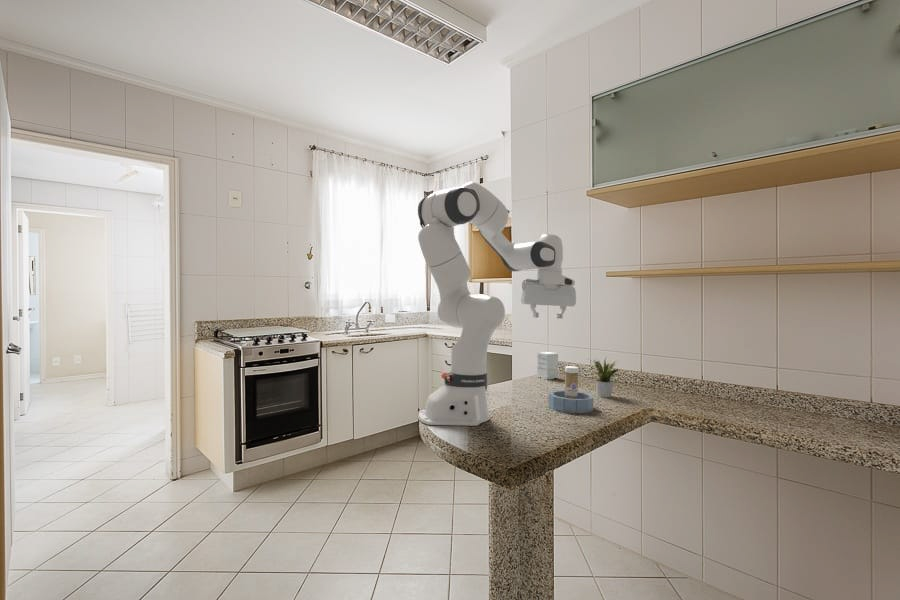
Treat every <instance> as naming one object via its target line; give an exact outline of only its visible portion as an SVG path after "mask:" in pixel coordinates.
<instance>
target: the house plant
mask: <svg viewBox="0 0 900 600" xmlns="http://www.w3.org/2000/svg"><path fill="white" fill-rule="evenodd" d="M607 357H608V356H607V355H606V356H605V358H604V361H603V366H602V363H600V362H601V361H600V360H599V359H598V358H596V359H597V360H595V359H594V360H593V365H594V366H595V367H596V369H597V372H596V371H595V370H590V371H589V373H591V374H593V375H597V376H598V379H595V380H594V382H595V387H596V389H595V390H596V396H597V397H599V398H604V397H606V398H605V399H608V398H607V397H610V398H611V397H612V393H613V388H614V383H615V381H614V380H611V378H612V377H614V378H616V376H618V378H620V375H619V374H617V372H619V369H616V368H615V369H613V368H614V367H615V366H616V363H617V362H618V361H619V360H615V361H613V362H612V363H609V362H607V363H606V359H607ZM587 360H589V361H591V362H592V360H590V359H588V358H587ZM612 360H613V358H611V359H610V361H612ZM612 369H613V370H612Z"/></svg>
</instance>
